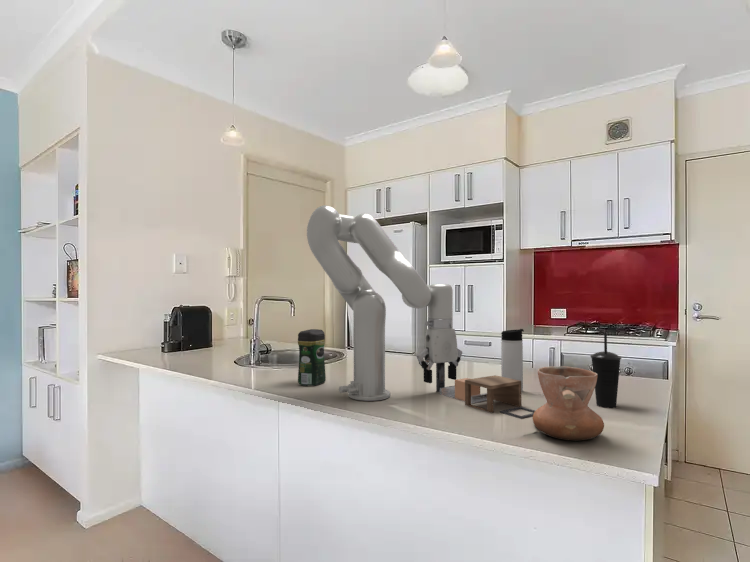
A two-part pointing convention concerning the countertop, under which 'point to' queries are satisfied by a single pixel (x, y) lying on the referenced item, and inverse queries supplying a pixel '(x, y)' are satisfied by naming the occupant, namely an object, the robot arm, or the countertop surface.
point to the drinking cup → (606, 376)
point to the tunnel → (495, 391)
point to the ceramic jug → (567, 404)
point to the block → (461, 388)
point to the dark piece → (518, 415)
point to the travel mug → (512, 355)
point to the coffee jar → (311, 357)
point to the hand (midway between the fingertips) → (440, 380)
